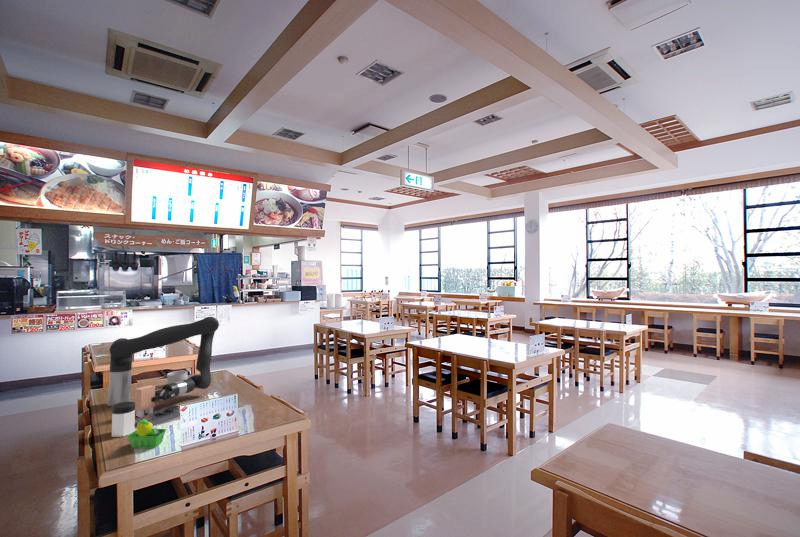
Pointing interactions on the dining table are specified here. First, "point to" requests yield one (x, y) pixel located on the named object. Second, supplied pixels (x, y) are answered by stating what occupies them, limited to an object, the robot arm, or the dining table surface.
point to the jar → (123, 419)
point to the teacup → (177, 376)
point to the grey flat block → (161, 415)
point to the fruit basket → (146, 435)
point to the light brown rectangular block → (144, 400)
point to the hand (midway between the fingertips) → (145, 398)
